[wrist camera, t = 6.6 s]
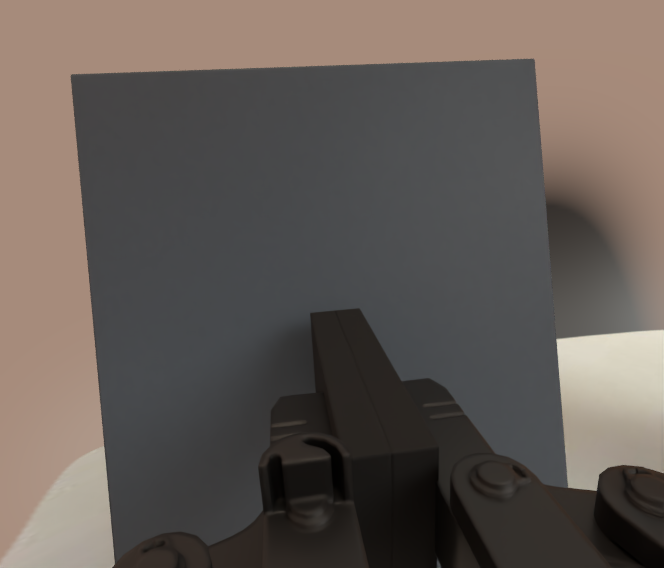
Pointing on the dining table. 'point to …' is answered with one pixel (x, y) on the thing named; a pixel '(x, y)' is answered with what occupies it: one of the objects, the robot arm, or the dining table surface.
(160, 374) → the dark grey box lid
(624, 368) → the dining table surface
